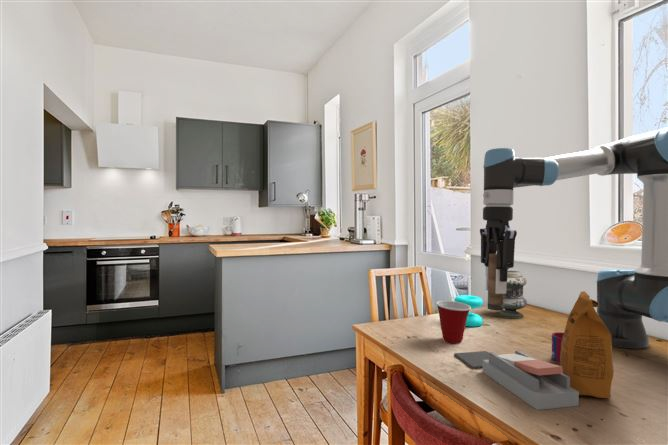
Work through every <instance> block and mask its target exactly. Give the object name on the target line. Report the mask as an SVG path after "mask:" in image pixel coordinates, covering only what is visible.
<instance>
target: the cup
mask: <svg viewBox="0 0 668 445" xmlns="http://www.w3.org/2000/svg"><path fill="white" fill-rule="evenodd" d="M563 334H564V332H560V331H559V332H558V331H557V332H552V333H551V359H552V360H553V361H555V362H557V363H559V364H560V354H561V342H562V338H563Z"/></svg>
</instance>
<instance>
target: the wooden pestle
mask: <svg viewBox="0 0 668 445" xmlns="http://www.w3.org/2000/svg"><path fill="white" fill-rule="evenodd" d="M496 267H498V260H497V253H496V254H495V253H491V254H489V269H488V290H487V309H488V310H491V311H498V312H499V311H502V310H504V308H503V305H504V294H496V293H495V291H496Z"/></svg>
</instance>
